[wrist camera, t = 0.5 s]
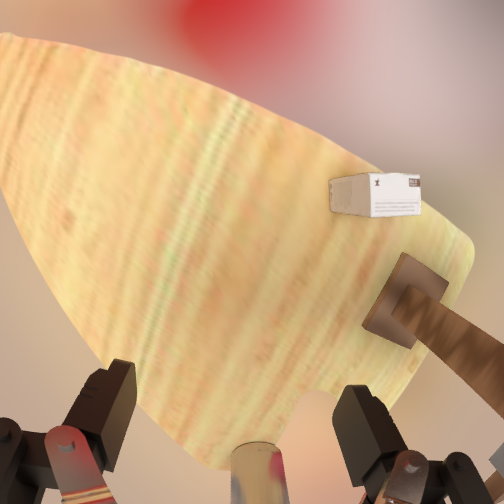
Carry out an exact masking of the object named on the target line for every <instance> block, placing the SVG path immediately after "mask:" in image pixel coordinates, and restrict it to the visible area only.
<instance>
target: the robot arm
mask: <svg viewBox="0 0 504 504" xmlns="http://www.w3.org/2000/svg"><path fill="white" fill-rule="evenodd" d="M136 400H137V385H136V372H135V364H134V363H133V362H128V361H124V360H120V359H114V360H113V361H112V363H111V365H110V367H109V369H108V370H104V369H101V368H100V369H98V370H97V371H95V372H94V373H93V374H91V375H90V376H89V378H88V379H87V381H86V383H85V385H84V387H83V388H82V390H81V391H80V395H78V397H77V398H76V400H75V402H74V404H73V406H72V407H71V409H70V411H69V413H68V415H67V417H66V418H65V420H64V422H63V423H62V425H61V426H56V427H54V428H52V429H51V430H50V431H49V432H48V433H37V432H29V431H23V430H21V429H20V427H19V425H18V424H17V423H16V422H15V421H13V420H12V419H9V418H4V417H3V418H0V504H41V501H42V498H43V495H44V492H45V489H46V488H51V489H59V490H60V493H61V495H62V504H117V503H116V501H115V499H114V497H113V495H112V494H111V492H110V490H109V489H108V487H107V485H106V483H105V481H104V479H103V477H102V474H103V471H104V470H106V471H110V472H113V471H114V468H115V465H116V461H117V458H118V455H119V452H120V449H121V446H122V443H123V440H124V437H125V434H126V431H127V428H128V425H129V422H130V420H131V417H132V414H133V411H134V408H135V405H136ZM332 422H333V427H334V430H335V433H336V436H337V439H338V442H339V445H340V448H341V451H342V454H343V457H344V460H345V463H346V466H347V470H348V472H349V476H350V479H351V482H352V485H353V487H358V486H364V487H365V490H366V492H365V493H364V495H363V497H362V499H361V501H360V503H359V504H446V503H445V501H444V498H446V497H447V496H449V498H450V500H451V502H452V504H494V502H493V500H492V498H491V496H490V494H489V492H488V490H487V488H486V486H485V484H484V482H483V481H482V478H481V476H480V475H479V473H478V471H477V469H476V467H475V466H474V464H473V462H472V461H471V459H470V458H469V456H467V455H466V454H464V453H462V452H453V453H451V454H450V455H448V457H447V458H446V459H445V460H444V461H428V460H427V459H426V457H425V456H424V455H423V454H421V453H420V452H418V451H415V450H408V448H407V446H406V444H405V442H404V440H403V438H402V436H401V434H400V433H399V431H398V429H397V427H396V425H395V423H393V419H392V417H391V416H389V412H388V410H387V408H386V406H385V404H384V403H382V402H381V401H380V400H379V399H378V398H377V397H376V396H374V397H373V396H372V394H371V393H370V391H369V389H368V387H367V386H366V385H347V386H346V387H345V389H344V391H343V393H342V395H341V397H340V399H339V401H338V403H337V405H336V407H335V409H334V412H333V417H332ZM231 504H290V502H289V497H288V490H287V484H286V478H285V472H284V465H283V460H282V454H281V451H280V449H278V448H277V447H276V446H274V445H272V444H269V443H262V442H255V443H248V444H245V445H242V446H240V447H238V448H237V449H235V450H234V452H233V453H232V456H231Z"/></svg>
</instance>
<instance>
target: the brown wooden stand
mask: <svg viewBox="0 0 504 504" xmlns="http://www.w3.org/2000/svg"><path fill="white" fill-rule="evenodd" d="M448 284H449V282H448V281H446V280H445V279H443V278H442V277H441V276H439V275H438V274H436V273H435V272H433V271H432V270H430V269H429V268H428V267H426V266H425V265H423V264H422V263H420V262H419V261H417V260H416V259H414V258H413V257H411V256H410V255H408V254H406V253H403V252H402V254H401V256H400V258H399V260H398V262H397V264H396V266H395V268H394V270H393V271H392V273H391V275H390V277H389V279H388V281H387V282H386V284H385V286H384V288H383V290H382V291H381V293H380V295H379V297H378V298H377V300H376V302H375V304H374V305H373V307H372V309H371V310H370V312H369V314H368V315H367V317H366V319H365V320H364V322H363V323H362V326H363V328H364V329H365V330H367V331H370V332H372V333H374V334H376V335H379V336H381V337H383V338H385V339H388V340H390V341H392V342H394V343H397V344H399V345H401V346H404V347H406V348H408V349H410V350H411V348H412V347H413V345H414V343H415V342H416V340H417V339H419V340H420V341H421V342H422V343H423V344H425V345H426V346H427V347H428V348H429V349H430V350H431V351H432V352H434V353H435V354H436V355H437V356H438V357H439V358H440V359H441V360H442V361H443V362H444V363H445V364H447V365H448V366H449V367H450V368H451V369H452V370H453V371H454V372H455V373H456V374H457V375H459V376H460V377H461V378H462V379H463V380H464V381H465V382H466V383H467V384H468V385H469V386H470V387H471V388H472V389H473V390H474V391H475V392H476V393H477V394H478V395H480V396H481V397H482V398H483V399H484V400H485V401H486V402H487V403H488V404H489V405H490V406H491V407H492V408H493V409H494V410H495V411H496V412H497V413H498V414H499V415H500V416H501V417H502V418H503V419H504V344H502V343H501V342H499V341H498V340H496V339H495V338H493V337H492V336H490V335H489V334H487V333H486V332H484V331H483V330H481V329H480V328H478V327H477V326H475V325H473V324H472V323H470V322H469V321H467V320H466V319H464V318H463V317H461V316H459V315H458V314H456V313H455V312H453V311H452V310H450V309H448V308H447V307H445V306H444V305H442V304H440V303H439V301H440V299H441V298H442V296H443V294H444V292H445V290H446V288H447V286H448ZM484 484H485V486H486V488H487V490H488V492H489V494H490V496H491V498H492V500H493V502H494V504H497V503H499V502H501V501H503V500H504V478H503V477H502V476H501V474H500V473H499V472H498V471H497V470H496V471H495V472H494V473H493V474H492V475H491V476H490V477H489V478H488V479H487V480H486V482H485V483H484Z"/></svg>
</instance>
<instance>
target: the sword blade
mask: <svg viewBox="0 0 504 504" xmlns="http://www.w3.org/2000/svg"><path fill="white" fill-rule="evenodd" d="M489 461H490V462H491V463H492V464H493V465H494V467H495V468H496V469H497V471H498V472H499V473H500V474H501V476H502V477H503V478H504V443H503V444H502V445H501V446H500V447H499V449H498V450H497V451H496V452H495V453H494V454H493V456H491V458H490V459H489Z"/></svg>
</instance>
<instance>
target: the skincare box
mask: <svg viewBox="0 0 504 504" xmlns="http://www.w3.org/2000/svg"><path fill="white" fill-rule="evenodd" d="M329 191H330V210H331V211H332V212H337V213H344V214H351V215H358V216H366V217H370V218H376V217H394V216H414V215H421V194H420V175H418V174H404V173H403V174H402V173H363V174H358V175H353V176H347V177H341V178H336V179H331V180H329Z"/></svg>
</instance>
